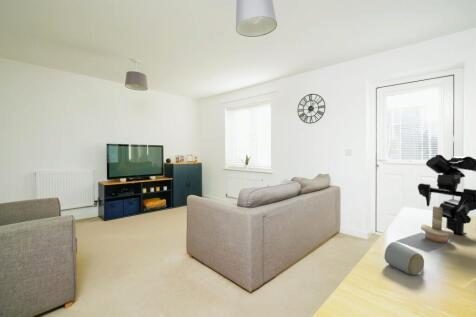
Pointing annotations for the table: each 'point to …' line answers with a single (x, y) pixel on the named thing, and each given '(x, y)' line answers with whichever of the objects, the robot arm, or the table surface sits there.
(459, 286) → the table surface
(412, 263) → the ceramic mug
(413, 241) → the slate mat
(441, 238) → the terracotta bowl
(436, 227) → the birch lid
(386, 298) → the table surface
